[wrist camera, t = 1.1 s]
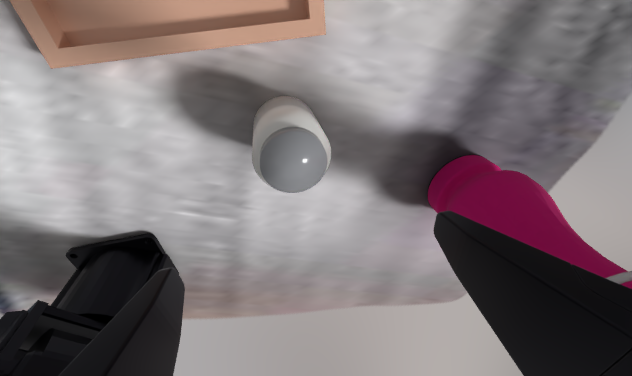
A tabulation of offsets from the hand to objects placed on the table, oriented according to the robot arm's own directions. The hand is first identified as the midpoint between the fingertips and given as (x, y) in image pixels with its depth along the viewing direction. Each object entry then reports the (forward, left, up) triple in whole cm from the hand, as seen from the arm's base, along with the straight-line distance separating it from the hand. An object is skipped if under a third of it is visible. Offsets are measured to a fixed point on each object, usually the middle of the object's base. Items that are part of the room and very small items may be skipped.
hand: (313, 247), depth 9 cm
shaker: (0, 0, -12) cm, 12 cm away
